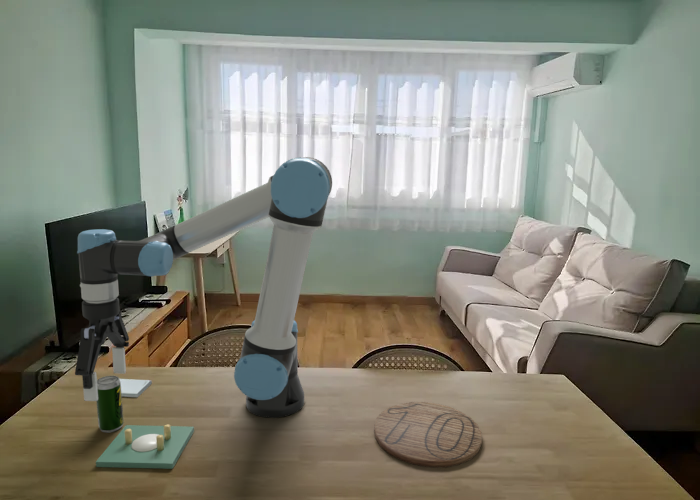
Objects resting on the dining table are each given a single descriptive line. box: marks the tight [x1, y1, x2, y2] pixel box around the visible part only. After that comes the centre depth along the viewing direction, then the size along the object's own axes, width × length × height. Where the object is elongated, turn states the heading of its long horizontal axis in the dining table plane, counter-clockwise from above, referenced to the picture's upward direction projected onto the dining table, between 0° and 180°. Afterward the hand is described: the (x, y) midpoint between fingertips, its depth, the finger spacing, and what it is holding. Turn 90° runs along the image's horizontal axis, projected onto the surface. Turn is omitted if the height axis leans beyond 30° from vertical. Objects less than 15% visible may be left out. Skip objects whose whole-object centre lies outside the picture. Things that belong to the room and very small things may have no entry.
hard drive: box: [119, 378, 153, 398], centre depth 137 cm, size 2×8×12 cm
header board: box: [95, 424, 195, 470], centre depth 110 cm, size 16×14×4 cm
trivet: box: [374, 401, 483, 468], centre depth 118 cm, size 25×25×2 cm
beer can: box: [95, 375, 125, 434], centre depth 117 cm, size 5×5×12 cm
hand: (106, 385), depth 117 cm, fingers open, 13 cm apart
